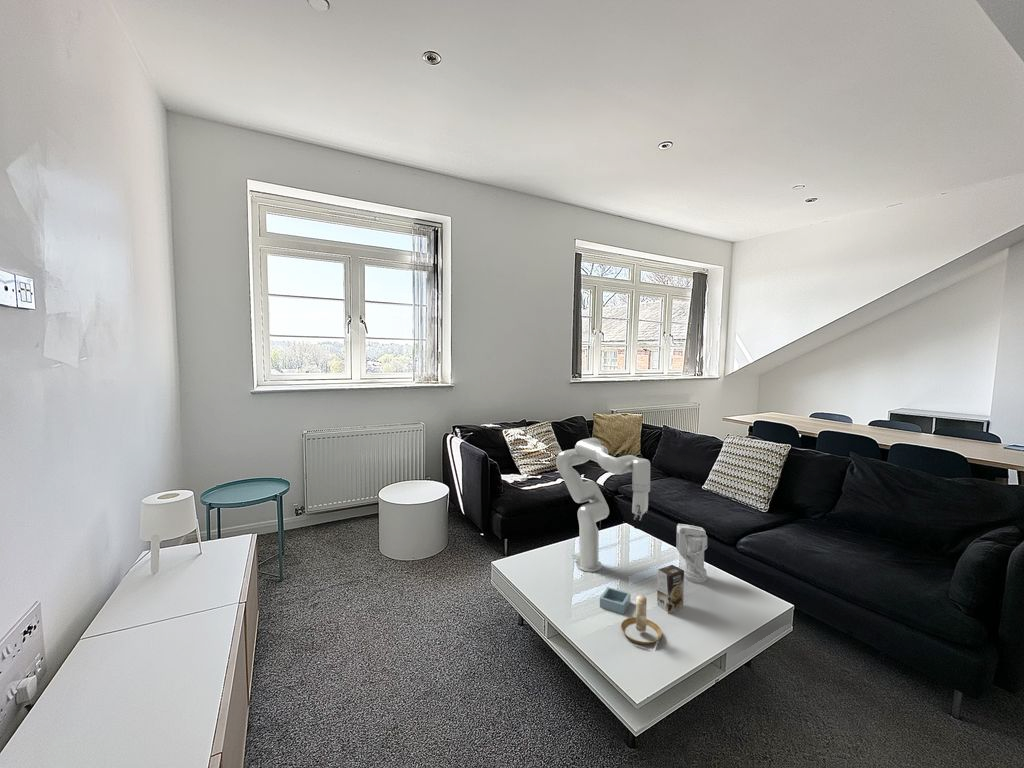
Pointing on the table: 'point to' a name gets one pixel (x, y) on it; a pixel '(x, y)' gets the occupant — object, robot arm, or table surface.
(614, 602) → the holder
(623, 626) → the plant saucer
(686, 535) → the white sculpture
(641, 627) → the dowel
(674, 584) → the coffee box
